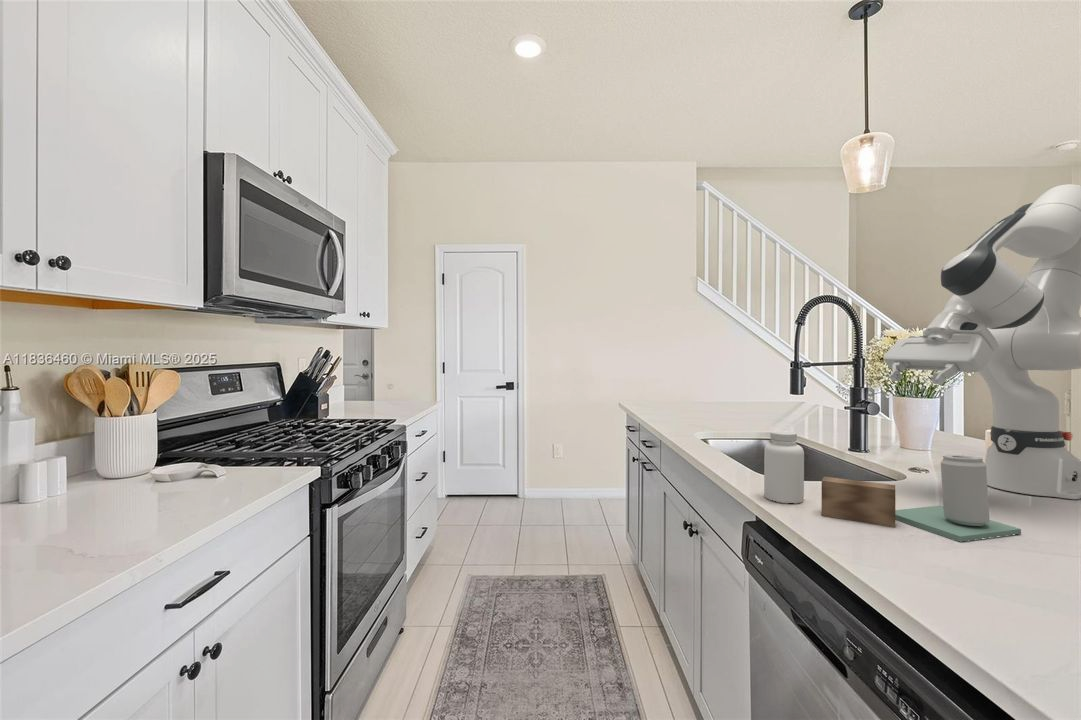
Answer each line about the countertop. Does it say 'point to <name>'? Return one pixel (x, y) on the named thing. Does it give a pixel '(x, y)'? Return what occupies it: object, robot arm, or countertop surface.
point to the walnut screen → (858, 501)
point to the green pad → (951, 524)
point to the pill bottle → (784, 468)
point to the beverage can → (965, 490)
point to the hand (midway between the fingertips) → (913, 380)
